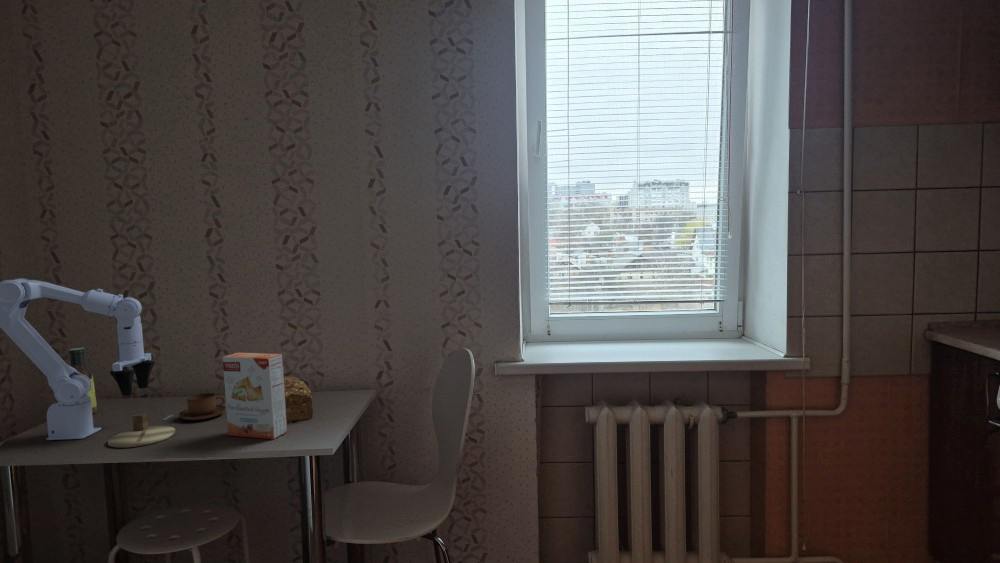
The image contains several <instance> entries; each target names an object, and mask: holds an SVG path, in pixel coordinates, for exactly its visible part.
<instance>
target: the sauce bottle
mask: <svg viewBox="0 0 1000 563" xmlns="http://www.w3.org/2000/svg"><path fill="white" fill-rule="evenodd" d="M67 352H68V355H69V360H70V363H69V364H70V366H71V367H73V368H75V369H76V370H77V371H78V372H79V373H81V374H83V375H86V376H87V377H88V378H89V379H90V380H91V384H92V386H91V389H90V391H89V392H88V395H89V396H90V397H91V406H92V415H93V414H95V413H96V412H97V410H98V408H97V404H98V403H97V397H96V388H95V382H94V375H93V372H92V370H91V368H90V366H89V364H88V362H87V360H86V348H85V347H76V348H74V347H73V348H70V349H68V351H67Z"/></svg>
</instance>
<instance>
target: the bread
mask: <svg viewBox="0 0 1000 563" xmlns="http://www.w3.org/2000/svg"><path fill="white" fill-rule="evenodd" d="M284 389H285V404H286V419H287V424H291V423H292V422H295V421H297V422H298V421H299V422H301V421H302V422H303V421H305V420H307V421H308V420H311V419H313V412H314V407H313V404H314V402H313V400H314V399H313V395H312V391H311V389H310V387H309V386H308V385H307V384H306V383H305V381H303V380H300V379H299V378H297V377H294V376H288V375H284Z"/></svg>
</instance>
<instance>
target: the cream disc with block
mask: <svg viewBox="0 0 1000 563" xmlns="http://www.w3.org/2000/svg"><path fill="white" fill-rule="evenodd" d="M132 427H133V429H130V430H126V431H123V432H120V433H118V434H115V435H113V436H111V437H110V438H109V439H108V440H107V445H108V446H109V447H112V448H117V449H119V448H121V449H123V448H124V449H125V448H134V447H135V448H136V447H141V446H147V445H151V444H155V443H158V442H162V441H164V440H168V439H170V438H171V437H173V436H174V435H176V428H174V427H172V426H167V425H155V426H154V425H153V426H149V419H148V412H143V413H141V412H140V413H136V414H134V415H132Z"/></svg>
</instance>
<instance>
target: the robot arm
mask: <svg viewBox="0 0 1000 563" xmlns="http://www.w3.org/2000/svg"><path fill="white" fill-rule="evenodd" d="M40 298H49V299H52V300H58V301H63V302H67V303H68V302H69V303H73V304H78V305H80V306H81V307H82V308H83V311H85V312H91V313H95V314H100V315H104V316H108V317H113V316H114V317H115V318H116V323H117V326H116V330H117V340H118V342H117V343H118V353H119V354H118V355H119V360H117V361H116V362H114V363H112V364H111V365H112V368H111V370H110V371H109V373H110V375H111V377H112V378H113V379H114V381H115V382H116V384H117V385H118V389H119V391H120V393H121V395H122V396H123V397H124V396H131V395H132V394H133V379H134V375H135V377H136V382H137V387H138V389H147V388H149V387H148V386H149V381H150V375H151V372H152V371H153V368H154V365H155V364H156V363H155V360H152V353H151V352H148V353H147V352H146V353H145V349H144V339H143V338H144V337H143V336H144V335H143V325H142V319H141V315H140V314H141V313H142V309H143V306H142V304H141V302H140V301H139V300H138V299H136V298H134V297H131V296H127V297H124V295H123V294H117V295H116V294H113V293H109V292H104V289H102V288H97V289H91V290H88V291H86V292H84V291H80V290H77V289H72V288H69V287H66V286H62V285H57V284H54V283H51V282H47V281H43V280H38V279H37V280H35V279H28V278H23V277H19V278H15V279H5V280H1V281H0V328H1V329H2V331H3V332H4V333H5V334H6V335H7V336H8V337H9V338H10V339H11V341H13V343H15V344H16V346H17V347H18V348H19V349H20V350H21V351H22V352H23V353H24V354H25V355H26V356H27V357H28V358H29V359H30V361H31V362H32V363H33V364H35V367H37V368H38V369H39V371H41V372H42V373H43V375H44V376H45V377H46V378H47V383H48V386H49V387H50V388H51V389H52V391H53V395H54V398H55V400H56V401H57V402H54V403H52V404H50V406H49V407H48V409H47V412H46V423H47V424H46V425H47V434H48V437H46V441H56V440H58V441H60V440H61V441H62V440H78V439H79V440H80V439H84V438H86V437H89V436H91V435H93V434H95V433H97V432H99V431H101V430H102V427H94V419H93V414H92V406H91V397H90V396H89V395H88V392H89V391H90V389H91V386H92V384H91V380H90V379H89V378H88V377H87V376H86V375H83V374H81V373H79V372H78V371H77V370H76V369H75V368H73V367H71V365H69V364H67V363H66V362H65V360H63V358H62V357H61V356H60V355H59V354H58V353H57V351H55V349H53V348H52V346H51V344H49V343H48V342H47V341H46V340H45V339H44V337H42V335H41V334H40V333H39V332H38V331H37V330H36V328H34V327H33V326H32V325H31V324H30V322H29V321H28V320H27V319H26V318H25V314H26V311H27V309H28V305H29V304H30V303H31V302H32V300H34V299H35V300H36V299H40ZM130 367H131V368H132V369H129V368H130Z"/></svg>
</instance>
